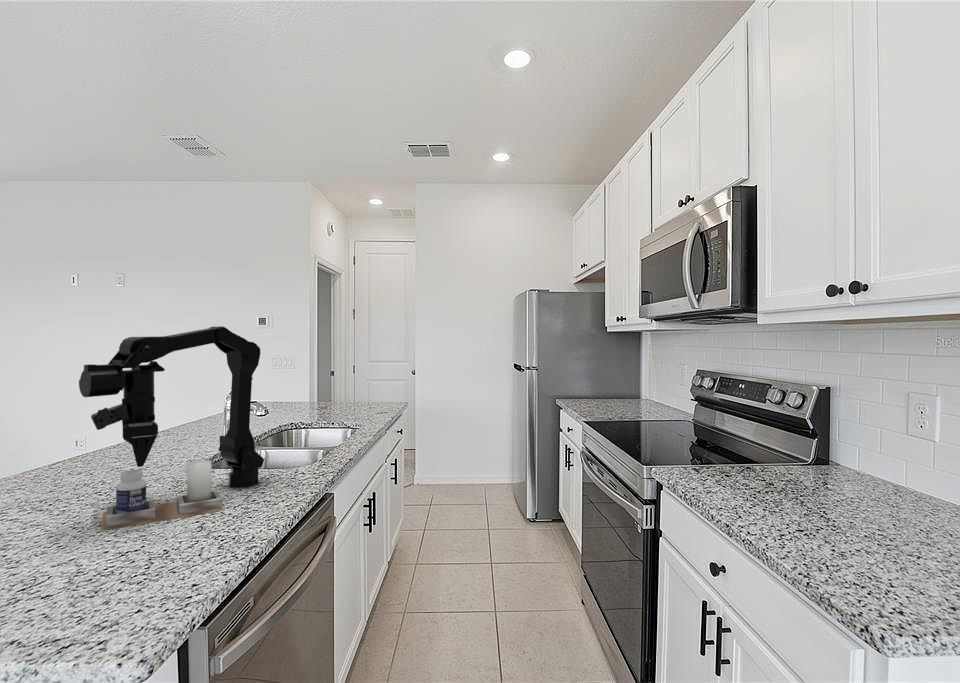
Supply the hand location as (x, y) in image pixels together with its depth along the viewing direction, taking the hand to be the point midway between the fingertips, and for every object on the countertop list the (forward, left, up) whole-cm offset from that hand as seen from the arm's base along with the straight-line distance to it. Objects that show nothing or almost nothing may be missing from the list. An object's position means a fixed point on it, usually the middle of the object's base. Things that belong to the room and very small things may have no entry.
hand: (139, 461), depth 112 cm
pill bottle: (+2, +3, -11) cm, 12 cm away
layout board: (-4, +3, -13) cm, 14 cm away
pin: (-11, +3, -11) cm, 16 cm away
